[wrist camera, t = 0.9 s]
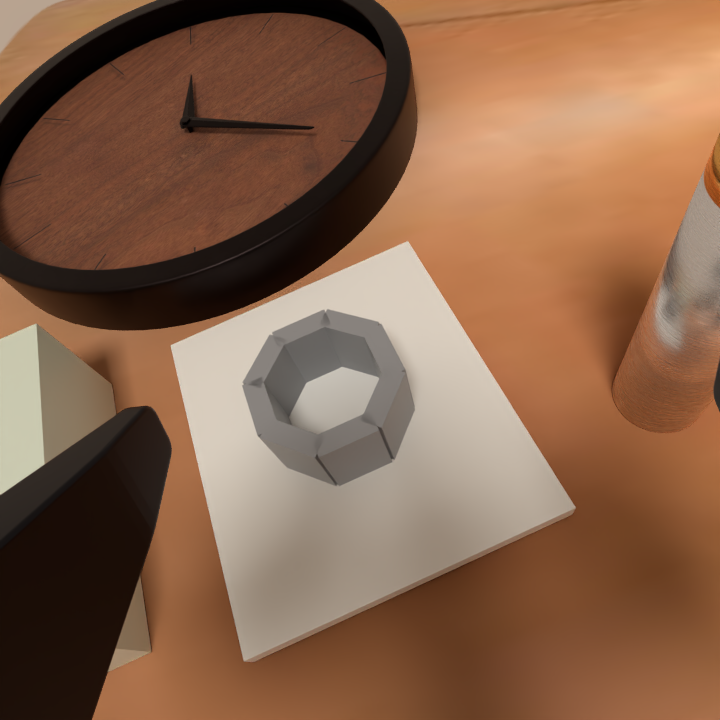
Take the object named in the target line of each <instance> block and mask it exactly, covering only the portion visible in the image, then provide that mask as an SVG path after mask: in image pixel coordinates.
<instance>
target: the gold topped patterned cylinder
mask: <svg viewBox="0 0 720 720" xmlns="http://www.w3.org/2000/svg"><path fill="white" fill-rule="evenodd" d="M719 358H720V134H719V136H718V139H717V141H716V143H715V146H714V148H713V150H712V153H711V155H710V157H709V160H708V162H707V164H706V167H705V169H704V171H703V174H702V176H701V178H700V181H699V183H698V185H697V188H696V190H695V192H694V195H693V197H692V199H691V202H690V204H689V206H688V209H687V211H686V213H685V216H684V218H683V220H682V223H681V225H680V227H679V230H678V232H677V234H676V237H675V239H674V241H673V244H672V246H671V248H670V251H669V253H668V255H667V258H666V260H665V262H664V265H663V267H662V269H661V272H660V274H659V276H658V279H657V281H656V283H655V286H654V288H653V290H652V293H651V295H650V297H649V300H648V302H647V304H646V307H645V309H644V311H643V314H642V316H641V318H640V320H639V323H638V325H637V327H636V330H635V332H634V334H633V337H632V339H631V341H630V344H629V346H628V348H627V351H626V353H625V355H624V358H623V360H622V362H621V365H620V367H619V369H618V372H617V374H616V376H615V379H614V382H613V386H612V395H613V399H614V402H615V404H616V406H617V408H618V410H619V411H620V412H621V414H622V415H623V416H624V417H625V418H626V419H627V420H629V421H630V422H631V423H633V424H635V425H636V426H638V427H640V428H642V429H645V430H648V431H652V432H658V433H672V432H677V431H681V430H683V429H685V428H687V427H689V426H691V425H692V424H693V423H694V422H695V421H696V420H697V419H698V418H699V416H700V415H701V414H702V413H703V412H704V410H705V409H706V408H707V407H708V405H709V404H710V403H711V402H712V400H713V399H714V394H713V386H714V381H715V376H716V372H717V367H718V363H719Z"/></svg>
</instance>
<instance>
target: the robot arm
mask: <svg viewBox="0 0 720 720" xmlns="http://www.w3.org/2000/svg"><path fill="white" fill-rule="evenodd" d="M713 394H714V399H715V402H716V405H717V407H718V409H719V411H720V358H719V363H718V367H717V372H716V376H715V381H714V386H713ZM171 452H172V448H171V443H170V440H169V437H168V435H167V434H166V432H165V430H164V428H163V426H162V424H161V422H160V420H159V418H158V416H157V414H156V412H155V411H154V409H153V408H151V407H149V406H139V407H130V408H126V409H124V410H122V411H121V412H120V413H118V414H117V415H115V416H114V417H112V418H111V419H109V420H108V421H107V422H105V423H104V424H102V425H101V426H99V427H98V428H96V429H95V430H94V431H92V432H91V433H89V434H88V435H86V436H85V437H83V438H82V439H81V440H79V441H78V442H76V443H75V444H73V445H72V446H70V447H69V448H67V449H66V450H65V451H63V452H62V453H60V454H59V455H57V456H56V457H54V458H53V459H52V460H50V461H49V462H47V463H46V464H44V465H43V466H41V467H40V468H39V469H37V470H36V471H34V472H33V473H31V474H30V475H28V476H27V477H25V478H24V479H23V480H21V481H20V482H18V483H17V484H15V485H14V486H12V487H11V488H10V489H8V490H7V491H5V492H4V493H2V494H1V495H0V720H92V718H93V715H94V712H95V709H96V706H97V703H98V700H99V697H100V694H101V691H102V688H103V685H104V682H105V679H106V676H107V673H108V670H109V667H110V664H111V661H112V658H113V655H114V652H115V649H116V646H117V643H118V640H119V637H120V634H121V631H122V628H123V625H124V622H125V619H126V616H127V613H128V610H129V607H130V604H131V601H132V598H133V595H134V592H135V589H136V586H137V583H138V580H139V577H140V574H141V571H142V568H143V565H144V562H145V559H146V556H147V553H148V550H149V547H150V544H151V541H152V537H153V534H154V530H155V526H156V522H157V518H158V514H159V509H160V504H161V500H162V495H163V491H164V486H165V482H166V477H167V472H168V468H169V463H170V459H171Z"/></svg>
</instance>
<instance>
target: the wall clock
mask: <svg viewBox="0 0 720 720" xmlns="http://www.w3.org/2000/svg"><path fill="white" fill-rule="evenodd" d="M416 131H417V106H416V97H415V89H414V80H413V72H412V63H411V57H410V51H409V47H408V44H407V41H406V38H405V36H404V34H403V32H402V30H401V28H400V26H399V25H398V23H397V22H396V20H395V19H394V18H393V17H392V15H391V14H390V13H389V12H388V11H387V10H386V9H385V8H384V7H383V6H381V5H380V4H379V3H377V2H376V1H375V0H156V1H154V2H151V3H149V4H146V5H144V6H141V7H139V8H137V9H134V10H132V11H130V12H128V13H125V14H123V15H121V16H119V17H117V18H115V19H113V20H111V21H109V22H107V23H105V24H103V25H102V26H100V27H98V28H96V29H94V30H93V31H91V32H89V33H87V34H86V35H84V36H82V37H81V38H79V39H78V40H76V41H75V42H73V43H71V44H70V45H68V46H67V47H66V48H64V49H63V50H61V51H60V52H58V53H57V54H56V55H54V56H53V57H52V58H50V59H49V60H47V61H46V62H45V63H44V64H42V65H41V66H40V67H39V68H37V69H36V70H35V71H34V72H33V73H32V74H31V75H29V76H28V77H27V78H26V79H25V80H24V81H23V82H22V83H21V84H20V85H19V86H18V87H16V88H15V89H14V90H13V92H12V93H11V94H10V95H9V96H8V97H7V98H6V99H5V100H4V101H3V102H2V103H1V105H0V277H2V278H3V279H4V280H5V281H6V282H7V283H9V284H10V285H11V286H12V287H13V288H15V289H16V290H17V291H18V292H19V293H21V294H22V295H23V296H24V297H25V298H27V299H28V300H29V301H30V302H32V303H33V304H34V305H35V306H37V307H39V308H40V309H42V310H44V311H45V312H47V313H49V314H51V315H53V316H55V317H58V318H60V319H63V320H66V321H68V322H71V323H75V324H79V325H83V326H87V327H93V328H100V329H108V330H150V329H161V328H168V327H174V326H181V325H185V324H190V323H194V322H199V321H203V320H206V319H210V318H213V317H217V316H220V315H223V314H226V313H229V312H232V311H235V310H237V309H240V308H243V307H245V306H248V305H250V304H252V303H255V302H257V301H259V300H262V299H264V298H266V297H268V296H270V295H272V294H274V293H276V292H278V291H280V290H282V289H284V288H286V287H287V286H289V285H291V284H293V283H294V282H296V281H298V280H300V279H301V278H303V277H304V276H306V275H307V274H309V273H310V272H312V271H314V270H315V269H317V268H318V267H319V266H321V265H322V264H324V263H325V262H326V261H328V260H329V259H330V258H332V257H333V256H334V255H336V254H337V253H338V252H339V251H340V250H341V249H343V248H344V247H345V246H346V245H347V244H349V243H350V242H351V241H352V240H353V239H354V238H355V237H356V236H357V235H358V234H359V233H360V232H361V231H362V230H363V229H364V228H365V227H366V226H367V225H368V224H369V223H370V222H371V220H372V219H373V218H374V217H375V216H376V215H377V214H378V212H379V211H380V210H381V208H382V207H383V206H384V205H385V203H386V202H387V201H388V199H389V198H390V196H391V194H392V193H393V191H394V190H395V188H396V187H397V185H398V183H399V181H400V179H401V178H402V176H403V174H404V172H405V169H406V167H407V165H408V162H409V160H410V157H411V154H412V150H413V147H414V143H415V138H416Z"/></svg>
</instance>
